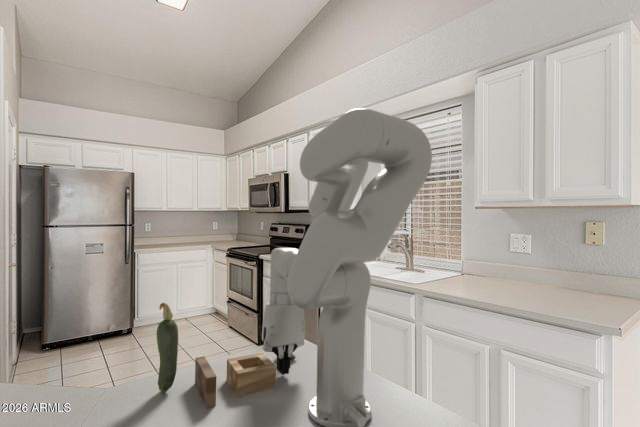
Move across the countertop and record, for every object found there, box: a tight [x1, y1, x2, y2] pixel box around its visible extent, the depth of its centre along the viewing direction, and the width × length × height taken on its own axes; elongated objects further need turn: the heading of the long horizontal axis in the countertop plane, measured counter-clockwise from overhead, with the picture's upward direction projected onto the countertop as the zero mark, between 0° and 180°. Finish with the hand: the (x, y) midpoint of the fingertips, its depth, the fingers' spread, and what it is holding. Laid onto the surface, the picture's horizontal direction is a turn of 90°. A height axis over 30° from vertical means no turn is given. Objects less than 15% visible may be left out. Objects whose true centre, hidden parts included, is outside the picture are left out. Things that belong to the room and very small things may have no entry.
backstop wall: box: [194, 356, 217, 408], centre depth 78 cm, size 12×2×6 cm, turn 29°
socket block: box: [226, 352, 277, 397], centre depth 83 cm, size 9×9×5 cm
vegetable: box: [156, 302, 179, 394], centre depth 78 cm, size 4×4×20 cm
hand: (283, 372), depth 88 cm, fingers closed
